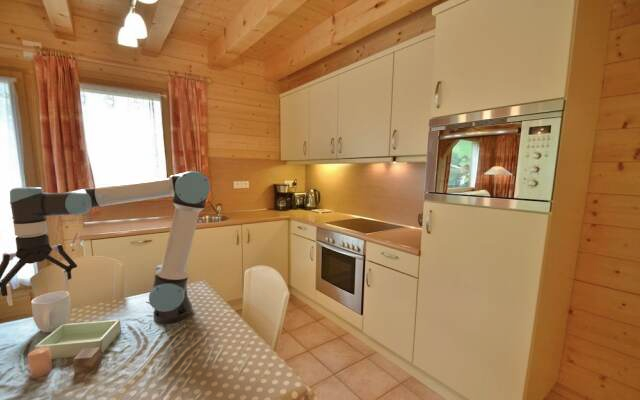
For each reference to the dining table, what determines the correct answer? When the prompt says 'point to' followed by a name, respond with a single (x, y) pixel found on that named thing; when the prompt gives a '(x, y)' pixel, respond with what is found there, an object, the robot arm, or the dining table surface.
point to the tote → (80, 338)
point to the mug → (51, 310)
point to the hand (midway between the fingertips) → (40, 296)
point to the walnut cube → (87, 360)
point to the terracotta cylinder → (39, 362)
